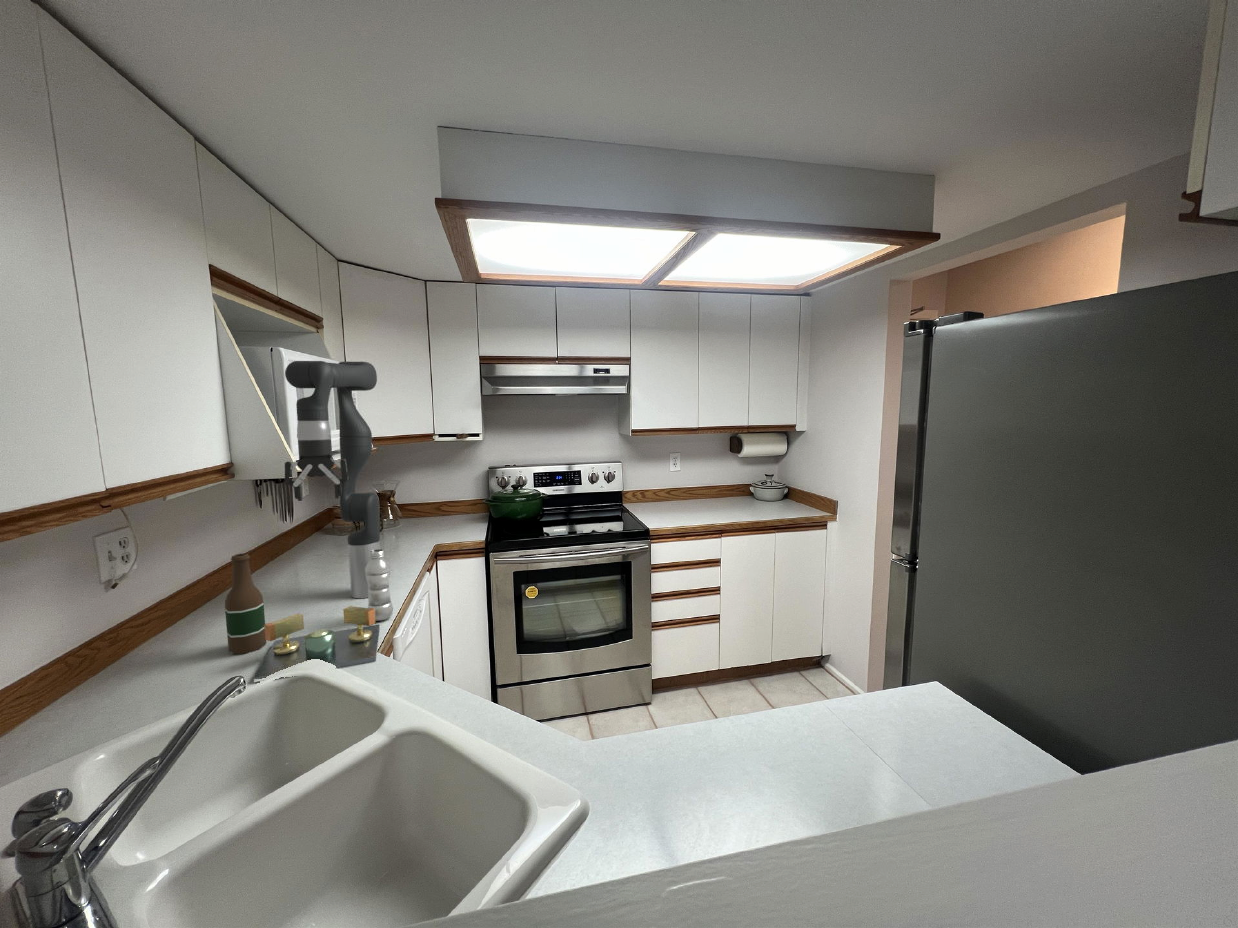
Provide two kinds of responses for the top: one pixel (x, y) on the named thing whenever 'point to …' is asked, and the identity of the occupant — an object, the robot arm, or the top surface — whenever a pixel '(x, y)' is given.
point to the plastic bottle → (379, 585)
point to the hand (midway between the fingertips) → (318, 499)
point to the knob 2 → (359, 622)
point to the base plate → (338, 659)
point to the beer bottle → (244, 610)
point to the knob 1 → (284, 633)
